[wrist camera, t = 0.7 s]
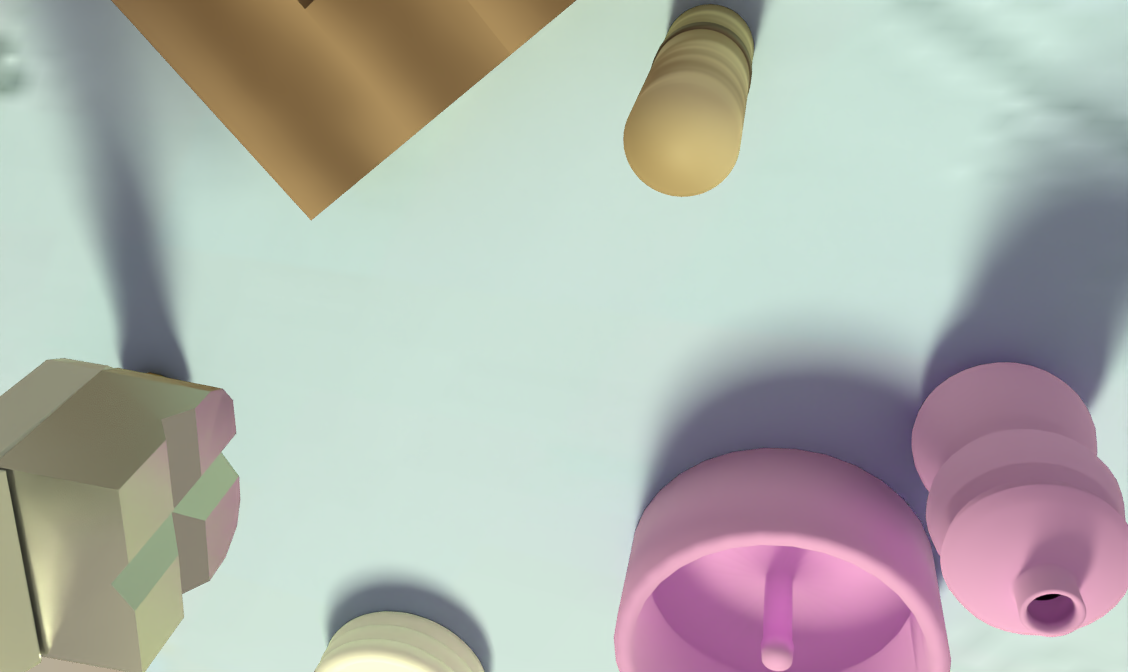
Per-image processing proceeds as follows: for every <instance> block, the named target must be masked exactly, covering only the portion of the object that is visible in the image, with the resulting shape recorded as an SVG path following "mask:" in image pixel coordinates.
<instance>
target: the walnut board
mask: <svg viewBox="0 0 1128 672" xmlns="http://www.w3.org/2000/svg"><path fill="white" fill-rule="evenodd" d="M111 1H112V2H113V3H114V4H115V5H116V6H117V7H118V8H119V9H120V11H121V12H122V13H123V14H124V15H125V16H126V17H127V18H128V19H129V20H130V22H131V23H132V24H133V25H134V26H135V27H136V28H137V29H138V30H139V31H140V33H141V34H142V35H143V36H144V37H145V38H146V39H147V40H148V41H149V42H150V44H151V45H152V46H153V47H154V48H155V49H156V50H157V51H158V52H159V53H160V55H161V56H162V57H163V58H164V59H165V60H166V61H167V62H168V63H169V64H170V66H171V67H172V68H173V69H174V70H175V71H176V72H177V73H178V74H179V75H180V77H181V78H182V79H183V80H184V81H185V82H186V83H187V84H188V85H189V86H190V88H191V89H192V90H193V91H194V92H195V93H196V94H197V95H198V96H199V97H200V99H201V100H202V101H203V102H204V103H205V104H206V105H207V106H208V107H209V108H210V110H211V111H212V112H213V113H214V114H215V115H216V116H217V117H218V118H219V120H220V121H221V122H222V123H223V124H224V125H225V126H226V127H227V128H228V129H229V131H230V132H231V133H232V134H233V135H234V136H235V137H236V138H237V139H238V140H239V142H240V143H241V144H242V145H243V146H244V147H245V148H246V149H247V150H248V151H249V153H250V154H251V155H252V156H253V157H254V158H255V159H256V160H257V161H258V162H259V164H260V165H261V166H262V167H263V168H264V169H265V170H266V171H267V172H268V173H269V175H270V176H271V177H272V178H273V179H274V180H275V181H276V182H277V183H278V184H279V186H280V187H281V188H282V189H283V190H284V191H285V192H286V193H287V194H288V195H289V197H290V198H291V199H292V200H293V201H294V202H295V203H296V204H297V205H298V206H299V208H300V209H301V210H302V211H303V212H304V213H305V214H306V215H307V216H308V217H309V219H310V220H312V219H313V218H315V217H316V216H317V215H318V214H319V213H321V212H322V211H323V210H324V209H325V208H327V207H328V206H329V205H330V204H332V203H333V202H334V201H335V200H336V199H338V198H339V197H340V196H341V195H342V194H344V193H345V192H346V191H347V190H348V189H350V188H351V187H352V186H353V185H354V184H356V183H357V182H358V181H359V180H360V179H362V178H363V177H364V176H365V175H366V174H368V173H369V172H370V171H371V170H372V169H374V168H375V167H376V166H377V165H378V164H380V163H381V162H382V161H383V160H384V159H386V158H387V157H388V156H389V155H390V154H392V153H393V152H394V151H395V150H397V149H398V148H399V147H400V146H401V145H403V144H404V143H405V142H406V141H407V140H409V139H410V138H411V137H412V136H413V135H415V134H416V133H417V132H418V131H419V130H421V129H422V128H423V127H424V126H425V125H427V124H428V123H429V122H430V121H431V120H433V119H434V118H435V117H436V116H437V115H439V114H440V113H441V112H442V111H443V110H445V109H446V108H447V107H448V106H449V105H451V104H452V103H453V102H454V101H455V100H457V99H458V98H459V97H460V96H462V95H463V94H464V93H465V92H466V91H468V90H469V89H470V88H471V87H472V86H474V85H475V84H476V83H477V82H478V81H480V80H481V79H482V78H483V77H484V76H486V75H487V74H488V73H489V72H490V71H492V70H493V69H494V68H495V67H496V66H498V65H499V64H500V63H501V62H502V61H504V60H505V59H506V58H507V57H508V56H510V55H511V54H512V53H513V52H514V51H516V50H517V49H518V48H519V47H520V46H522V45H523V44H524V43H525V42H527V41H528V40H529V39H530V38H531V37H533V36H534V35H535V34H536V33H537V32H539V31H540V30H541V29H542V28H543V27H545V26H546V25H547V24H548V23H549V22H551V21H552V20H553V19H554V18H555V17H557V16H558V15H559V14H560V13H561V12H563V11H564V10H565V9H566V8H567V7H569V6H570V5H571V4H572V3H573V2H575V1H576V0H111Z"/></svg>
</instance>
